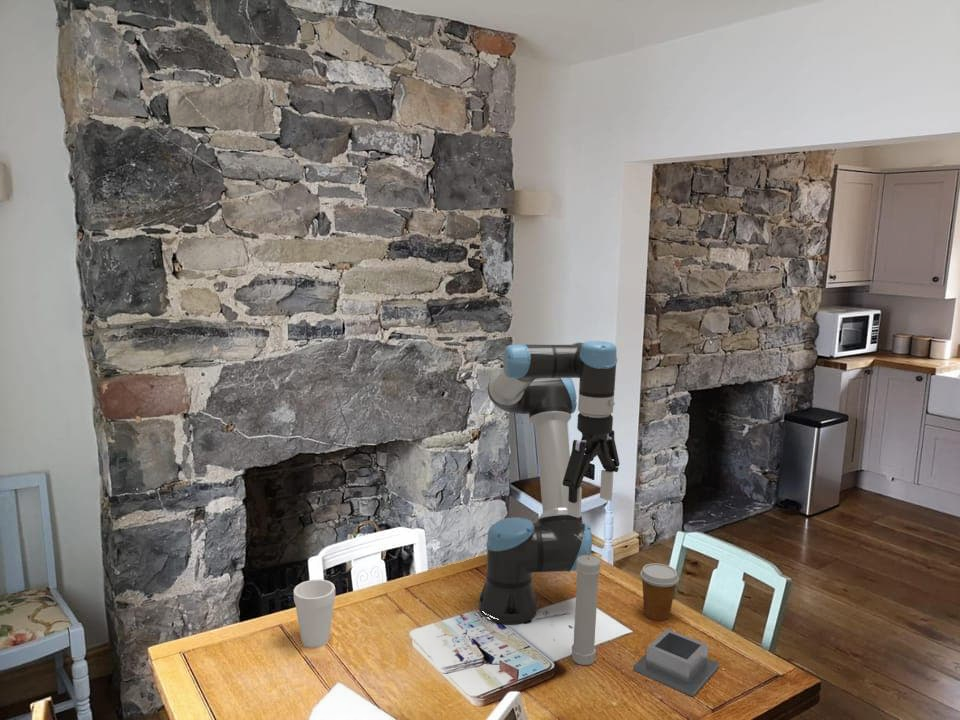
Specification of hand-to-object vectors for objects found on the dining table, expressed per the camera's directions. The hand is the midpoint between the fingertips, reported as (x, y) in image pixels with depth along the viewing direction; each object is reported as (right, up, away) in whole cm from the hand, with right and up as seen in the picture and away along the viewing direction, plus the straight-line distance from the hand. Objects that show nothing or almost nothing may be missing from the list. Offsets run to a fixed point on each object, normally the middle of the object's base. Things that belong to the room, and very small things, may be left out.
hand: (590, 507), depth 155 cm
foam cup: (-63, -34, +11) cm, 73 cm away
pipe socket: (+20, -37, +3) cm, 42 cm away
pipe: (-1, -36, +6) cm, 37 cm away
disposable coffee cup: (+21, -33, +26) cm, 47 cm away
